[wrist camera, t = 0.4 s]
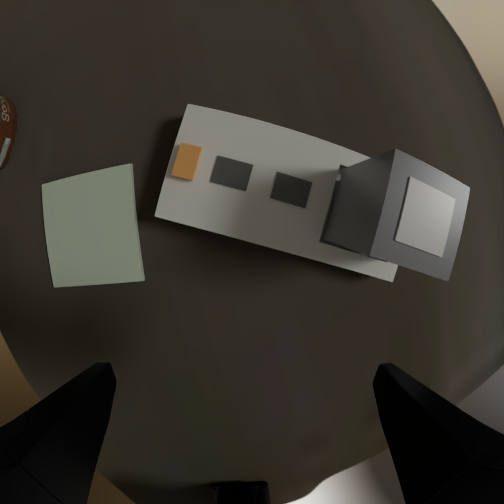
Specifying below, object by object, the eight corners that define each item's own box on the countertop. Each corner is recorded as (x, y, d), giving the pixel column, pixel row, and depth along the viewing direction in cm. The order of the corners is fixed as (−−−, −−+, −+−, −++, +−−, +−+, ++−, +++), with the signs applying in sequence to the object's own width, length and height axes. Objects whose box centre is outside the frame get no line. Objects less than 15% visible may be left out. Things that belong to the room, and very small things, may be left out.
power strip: (403, 181, 22) (423, 178, 19) (378, 275, 23) (396, 284, 20) (193, 114, 21) (186, 101, 17) (163, 215, 21) (151, 216, 18)
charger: (377, 255, 21) (449, 281, 12) (318, 237, 21) (370, 256, 12) (393, 193, 21) (471, 187, 12) (336, 171, 20) (396, 148, 11)
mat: (145, 279, 22) (143, 280, 22) (56, 286, 22) (53, 287, 22) (132, 164, 21) (130, 163, 20) (44, 184, 21) (41, 184, 20)
